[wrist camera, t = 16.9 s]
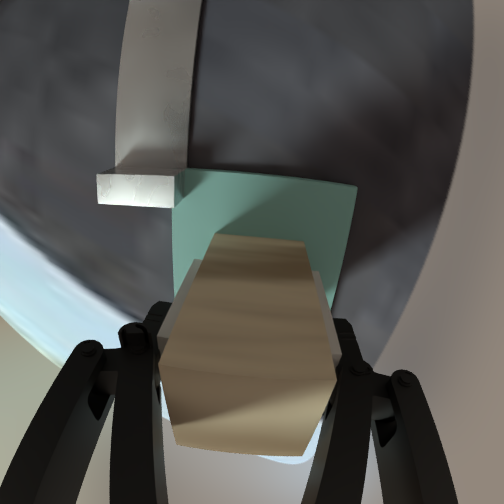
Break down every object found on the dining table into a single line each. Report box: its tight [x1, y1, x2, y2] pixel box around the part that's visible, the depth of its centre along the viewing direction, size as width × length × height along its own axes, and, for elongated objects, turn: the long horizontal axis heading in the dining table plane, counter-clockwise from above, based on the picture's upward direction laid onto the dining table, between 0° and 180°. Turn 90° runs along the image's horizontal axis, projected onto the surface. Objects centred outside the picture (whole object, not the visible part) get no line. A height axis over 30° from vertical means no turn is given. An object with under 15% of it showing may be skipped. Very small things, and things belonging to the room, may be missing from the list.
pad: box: [172, 168, 358, 310], centre depth 18 cm, size 12×10×1 cm
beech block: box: [158, 233, 337, 456], centre depth 13 cm, size 5×5×10 cm
